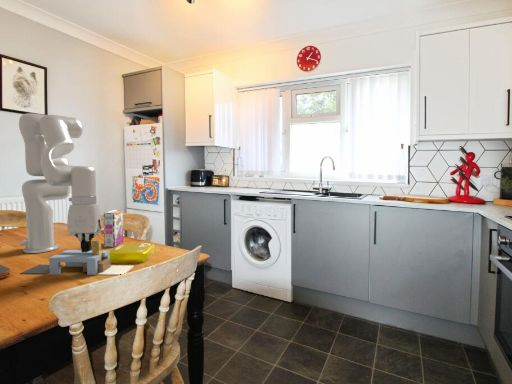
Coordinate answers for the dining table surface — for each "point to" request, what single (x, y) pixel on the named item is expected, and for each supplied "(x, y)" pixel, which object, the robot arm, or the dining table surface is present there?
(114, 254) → the element tile
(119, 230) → the candy bar box
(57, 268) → the tunnel
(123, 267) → the tile
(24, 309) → the dining table surface
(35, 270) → the pad
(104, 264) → the tan boxy piece
